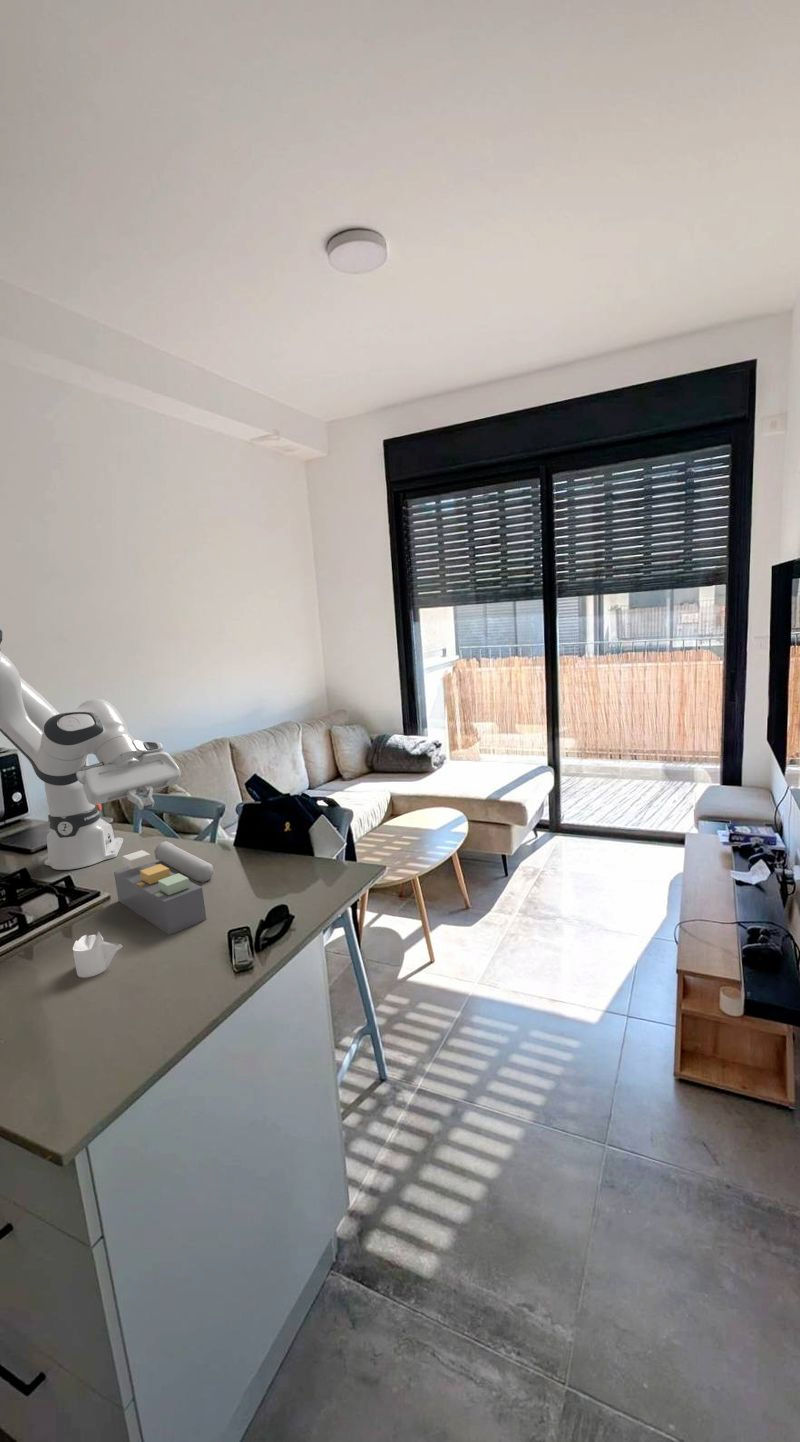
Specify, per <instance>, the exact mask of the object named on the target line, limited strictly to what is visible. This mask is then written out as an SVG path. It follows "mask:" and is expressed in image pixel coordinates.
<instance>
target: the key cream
mask: <svg viewBox="0 0 800 1442" xmlns="http://www.w3.org/2000/svg"><path fill="white" fill-rule="evenodd" d="M152 862H153V860H152V856H151V853H149V852H147V851H146V850H143V849H141V850H137V851H135V852H132V853H129V854H125V855H122V863H123V865H124V866H126V868H127V867H129V868H131V869H133V868H137V867H140V866H143V865H146V864H149V863H152Z"/></svg>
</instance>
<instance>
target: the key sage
mask: <svg viewBox="0 0 800 1442" xmlns="http://www.w3.org/2000/svg"><path fill="white" fill-rule="evenodd" d="M189 878H190V877H188V876H185V875H183V874H182V873H175V875H172V876H169V877H167V878H164V879H161V880H158V885H159V890H160V891H162V892H164V893H166V894H167V895H171V894H174V893H176V892H179V891H182V890H184V889H187V888H190V884H189V881H190V879H189Z"/></svg>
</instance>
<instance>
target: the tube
mask: <svg viewBox="0 0 800 1442" xmlns="http://www.w3.org/2000/svg"><path fill="white" fill-rule="evenodd" d="M153 852H154V858H155V860H158V861H161V862H163V863H165V864H166V865H167V866H170V867H172V868H173V869H175V870H177V871H179V872H181V874H184V875H186V877H188V878H191V879H193V880H195V881H196V882H199V883H205V882H207V881H209V880H210V879H212V877H213V875H214V868H213V864H211V863H210V862H207V861H206V860H204V859H201V858H200V857H198V856H196V855H194V854H191V853H189V852H188V851H186V850H184V849H182V848H179V847H178V846H176V845H174V843H172V842H169V841H167V840H165V841H162V842H158V843H157V845H156V847H155V848H154V851H153Z"/></svg>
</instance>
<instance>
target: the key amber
mask: <svg viewBox="0 0 800 1442" xmlns="http://www.w3.org/2000/svg"><path fill="white" fill-rule="evenodd" d="M170 871H171V870H170V868H169V867H167V866H165V865H163V864H161V863H159V864H157V865H155V866H152V867H149V868H146V869H143V870H140V876H141V880H143V881H145V882H146V883H148V884H153V883H156V882H158V880H161V879H164V878H167V877H169V876H170Z"/></svg>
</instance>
